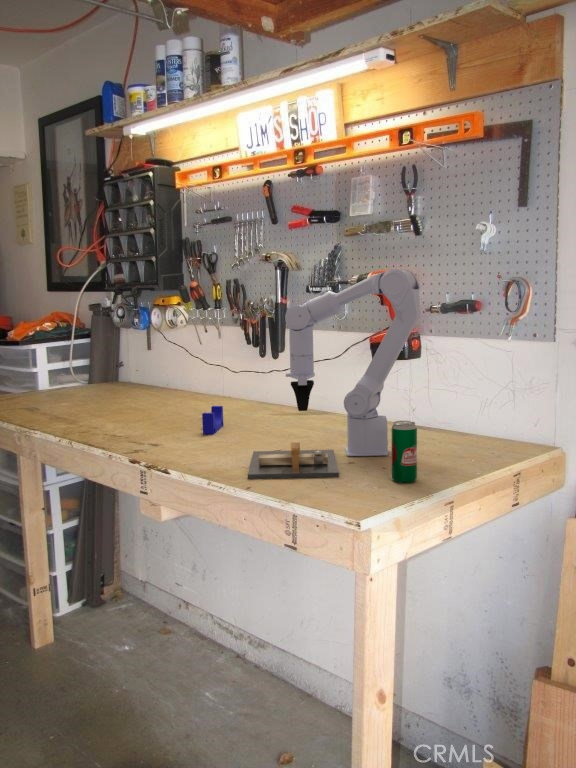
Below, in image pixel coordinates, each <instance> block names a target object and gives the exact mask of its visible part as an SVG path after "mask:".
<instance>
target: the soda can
mask: <svg viewBox="0 0 576 768" xmlns="http://www.w3.org/2000/svg"><path fill="white" fill-rule="evenodd" d="M391 479H392V481H394V483H398V484H413V483H415V482H416V481H417V479H418V427H417V426H416V422H415V421H411V420H395V421H393V425H392V427H391Z"/></svg>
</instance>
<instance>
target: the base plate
mask: <svg viewBox="0 0 576 768" xmlns="http://www.w3.org/2000/svg"><path fill="white" fill-rule="evenodd" d="M300 446H301V444H300V442H290V450H262V451H261V450H259V451H256V450H255V451H253V452H252V457H251V458H250V459H251V461H250V464H249V468H248V472H247V479H248V480H265V479H268V480H269V479H270V480H271V479H311V478H312V479H315V478H318V479H319V478H340V472H339V467H338V463H337V459H336V455H335V454H336V453H335V450H334V449H308V450H307V449H305V450H303V449H301V447H300ZM314 453H315V455H322V454H321V453H327V455H328V464H299V455H300V454H314ZM266 454H291V455H292V465H259V455H266Z"/></svg>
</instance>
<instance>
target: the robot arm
mask: <svg viewBox="0 0 576 768" xmlns="http://www.w3.org/2000/svg"><path fill="white" fill-rule="evenodd" d="M420 289H421V285H420V283H419V281H418V279H417V277H416V275H415V274H414V272H412V271H411V270H410V269H409V270H408V269H405V268H404V269H398V268H392V269H388V270H386V271H385V272H379V273H377V274H373V275H371V276H368V277H366V278H364V279H363V280H361V281H359V282H357V283H355V284H353V285H351V286H349V287H347V288H345V289H343V290H341V291H339V292H337V293H336V292H334V291H332V290H328V291H326V290H322V291H320V292H319V295H318V296H315V297H314V298H312V299H309V300H308V299H304V300H303V301H302V305H301V304H294V305H292V306H291V307H290V308H289V309H287V311H286V312H285V316H284V318H285V320H284V321H285V323H286V325H287V326H288V329H289V366H290V367H289V368H290V369H289V372H285V378H288V377H289V378H292V379H295V381H290V386H291V388H292V390H293V393H294V396H295V400H296V405H297V406H296V407H297V409H298V412H307V411H308V409H309V403H310V396H311V393H312V389H313V388H314V385H315V383H314V382H315V381H314V379H312V378H313V377H315V376H316V375H315V372H314V371H315V370H314V369H315V368H314V367H315V366H314V365H315V364H314V326H315V324H318V323H321V322H323V321H325V320H327V319H329V318H331V317H335V316H336V315H339V314H340V313H341V310H342V309H343V307H344V306H345V305H347V304H350V303H354V301H358V300H360V299H362V298H365V297H367V296H369V295H372V294H373V295H382V294H383V295H384V296H385V297H386V299H387V300H388V301H389V302H390V304H391V307H392V309H393V311H394V315H395V316H394V318H393V319H392V321H391V323H390V325H389V327H388V329H387V331H386V332H385V334H384V336H383V338H382V340H381V342H380V344H379V346H378V348H376V352H375V354H374V355H373V357H372V359H371V361H370V362H369V364H368V366H367V368H366V370H365V373H364V374H363V375H362V377H361V378H360V379H359V380H358V381H357V383H356V385H355V387H354V388H353V389H352V390H351V391H349V392H348V393H347V394H346V395H345V397H344V399H343V408H344V409H345V411H346V416H347V418H346V419H347V421H346V425H347V426H346V427H347V430H346V431H347V446H345V447H344V451H345V453H346V456H347V457H370V456H371V457H375V456H376V457H377V456H379V457H380V456H388V455H389V452H388V450H389V449H388V446H389V440H388V439H389V437H388V435H389V433H388V430H389V429H388V419H387V416H386V415H379V412H378V411H377V408H378V407H379V405H380V402H381V394H382V391H383V389H384V384H385V381H386V379H387V377H388V375H389V374H390V372H391V370H392V369H393V368H394V367H393V366H394V365H395V363H396V361H397V360H398V357H399V356H400V353H401V352H402V350H403V348H404V346H405V344H406V342H407V341H408V339H409V338H410V335H411V334H412V332H413V330H414V328H415V326H416V324H417V322H418V321H419V318H420V316H421V308H420V307H421V306H420V303H421V302H420V292H421V291H420ZM296 380H297V381H296Z"/></svg>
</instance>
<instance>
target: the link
mask: <svg viewBox="0 0 576 768" xmlns="http://www.w3.org/2000/svg"><path fill="white" fill-rule="evenodd" d="M321 454H322V455H315V453H314V454H300V455H299V464H328V455H327V453H321ZM259 465H292V455H291V454H266V455H259Z"/></svg>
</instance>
